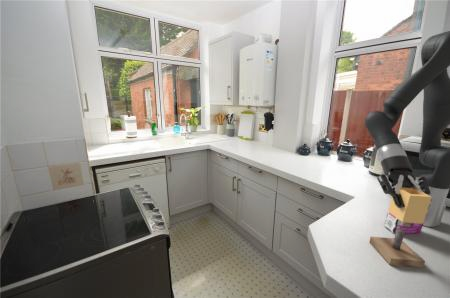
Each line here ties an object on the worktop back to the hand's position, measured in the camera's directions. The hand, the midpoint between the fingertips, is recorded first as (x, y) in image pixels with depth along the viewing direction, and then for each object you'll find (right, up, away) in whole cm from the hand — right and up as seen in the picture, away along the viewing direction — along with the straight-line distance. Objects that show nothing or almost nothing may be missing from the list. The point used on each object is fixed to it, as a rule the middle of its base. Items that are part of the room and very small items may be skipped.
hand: (412, 208), depth 60 cm
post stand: (0, -18, +6) cm, 19 cm away
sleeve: (0, -4, +3) cm, 5 cm away
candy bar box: (+14, -15, +19) cm, 28 cm away
